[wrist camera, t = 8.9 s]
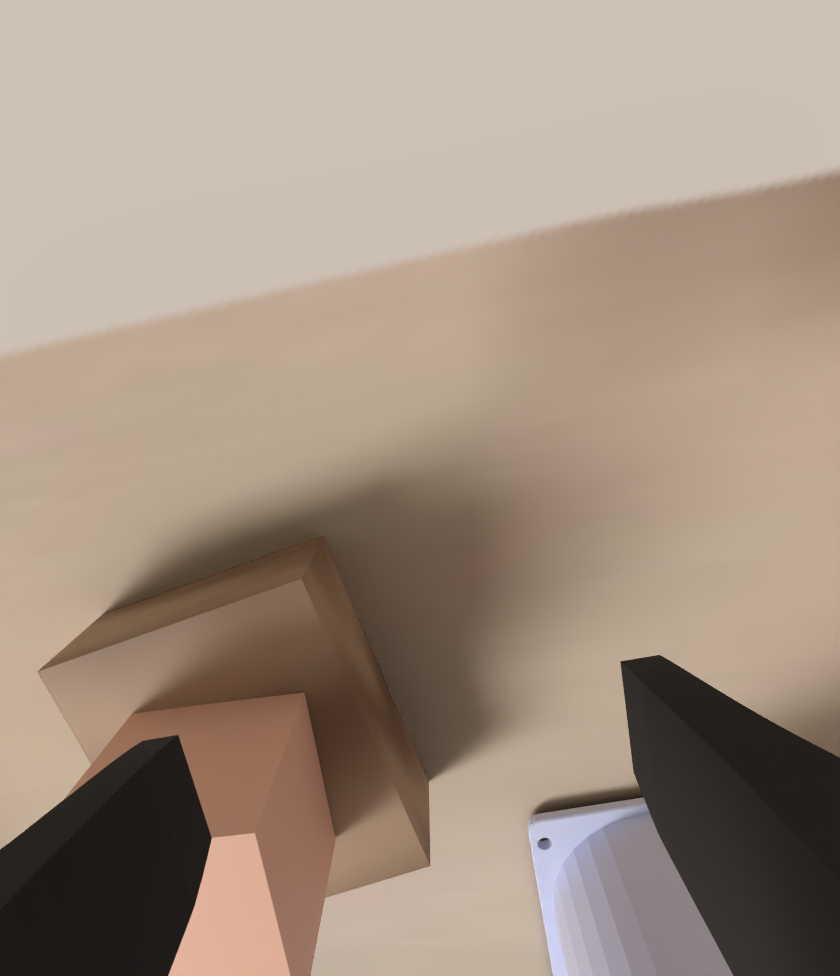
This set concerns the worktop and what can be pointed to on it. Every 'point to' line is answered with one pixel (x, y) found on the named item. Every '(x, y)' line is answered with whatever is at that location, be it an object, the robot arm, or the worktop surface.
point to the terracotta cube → (249, 832)
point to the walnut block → (265, 691)
